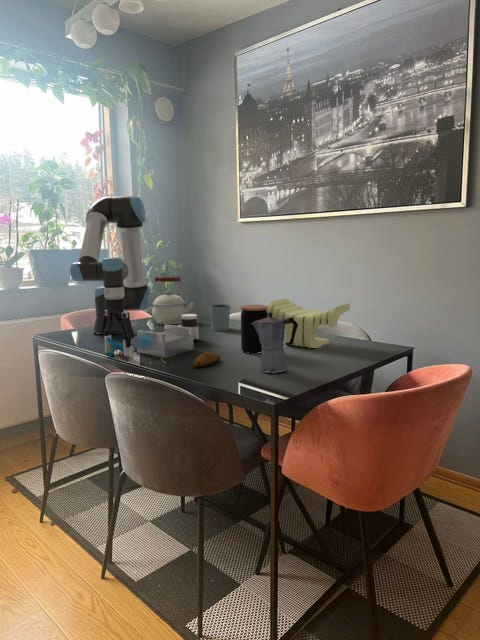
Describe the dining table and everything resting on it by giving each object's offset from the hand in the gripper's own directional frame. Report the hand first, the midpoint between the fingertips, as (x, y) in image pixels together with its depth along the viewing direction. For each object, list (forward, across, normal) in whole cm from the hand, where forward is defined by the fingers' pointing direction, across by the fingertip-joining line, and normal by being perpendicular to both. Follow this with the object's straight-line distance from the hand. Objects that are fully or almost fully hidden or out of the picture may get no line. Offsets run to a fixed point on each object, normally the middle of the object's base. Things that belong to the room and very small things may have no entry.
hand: (117, 353), depth 184 cm
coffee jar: (+1, +41, +35) cm, 54 cm away
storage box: (+1, +8, +15) cm, 17 cm away
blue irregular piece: (+1, 0, 0) cm, 1 cm away
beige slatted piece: (+1, +53, +56) cm, 77 cm away
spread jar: (+1, +4, +34) cm, 34 cm away
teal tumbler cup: (+1, 0, +63) cm, 63 cm away
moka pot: (+1, +63, +16) cm, 65 cm away
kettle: (+1, -35, +64) cm, 73 cm away
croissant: (+1, +39, +9) cm, 40 cm away
